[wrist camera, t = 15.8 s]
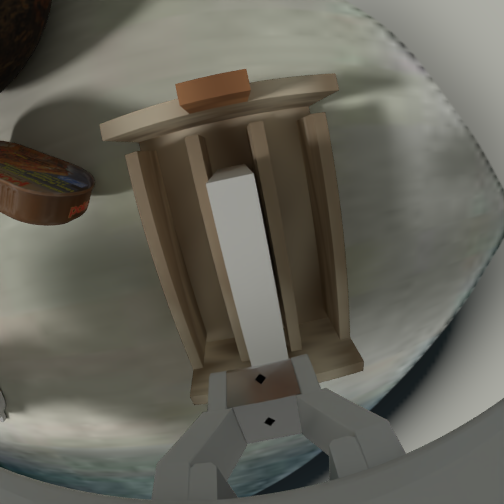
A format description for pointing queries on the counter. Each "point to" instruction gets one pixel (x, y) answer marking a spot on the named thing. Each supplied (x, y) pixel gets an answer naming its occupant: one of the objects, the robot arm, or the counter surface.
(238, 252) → the panel
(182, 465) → the robot arm
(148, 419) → the counter surface
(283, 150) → the rack
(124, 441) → the counter surface
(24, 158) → the tin
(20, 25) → the glass bottle
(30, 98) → the counter surface
